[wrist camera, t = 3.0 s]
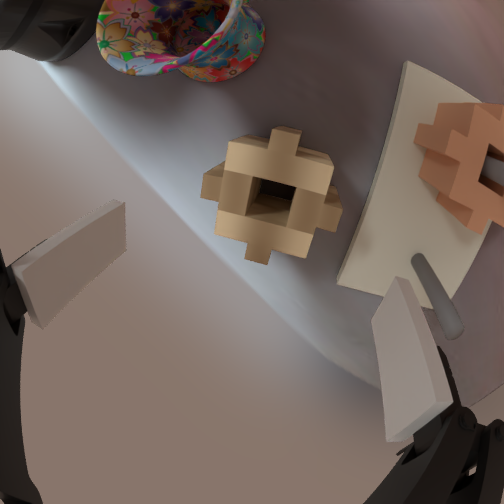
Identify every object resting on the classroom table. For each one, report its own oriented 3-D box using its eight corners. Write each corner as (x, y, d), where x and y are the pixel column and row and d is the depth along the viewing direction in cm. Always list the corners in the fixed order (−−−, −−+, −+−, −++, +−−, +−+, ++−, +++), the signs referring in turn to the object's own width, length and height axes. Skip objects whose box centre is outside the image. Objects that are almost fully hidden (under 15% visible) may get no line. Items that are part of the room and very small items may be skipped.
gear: (218, 217, 26) (195, 245, 21) (235, 116, 21) (212, 117, 16) (317, 243, 26) (317, 278, 20) (347, 143, 21) (360, 153, 15)
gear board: (336, 277, 27) (342, 364, 17) (403, 62, 16) (468, 34, 6) (439, 305, 26) (470, 379, 16) (512, 130, 15) (586, 155, 5)
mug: (215, 107, 21) (151, 108, 12) (153, 49, 19) (75, 33, 10) (318, 24, 16) (323, -34, 7) (245, -31, 14) (206, -91, 4)
